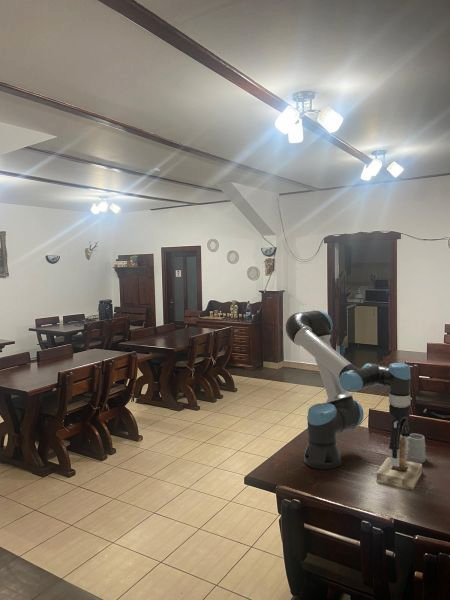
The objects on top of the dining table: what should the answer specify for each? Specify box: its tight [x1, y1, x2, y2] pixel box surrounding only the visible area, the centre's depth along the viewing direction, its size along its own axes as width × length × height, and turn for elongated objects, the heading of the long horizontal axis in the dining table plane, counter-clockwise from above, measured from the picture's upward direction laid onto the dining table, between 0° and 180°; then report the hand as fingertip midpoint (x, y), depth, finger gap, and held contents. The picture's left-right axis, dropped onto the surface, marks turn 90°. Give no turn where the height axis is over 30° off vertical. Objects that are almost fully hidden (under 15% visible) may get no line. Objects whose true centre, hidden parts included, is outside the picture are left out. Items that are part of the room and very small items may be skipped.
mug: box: [401, 433, 427, 464], centre depth 188 cm, size 8×12×12 cm, turn 95°
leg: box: [394, 437, 406, 472], centre depth 173 cm, size 4×4×14 cm
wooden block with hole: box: [376, 456, 423, 491], centre depth 174 cm, size 13×16×4 cm
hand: (399, 458), depth 173 cm, fingers open, 13 cm apart
